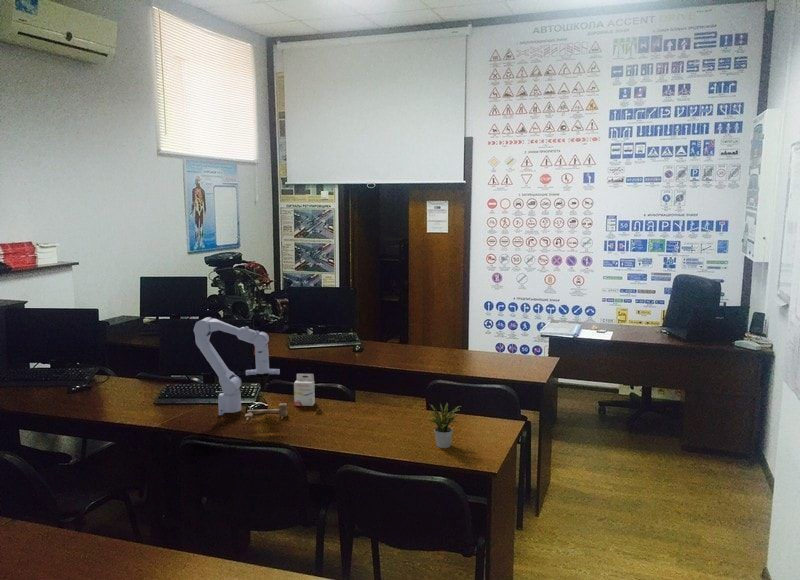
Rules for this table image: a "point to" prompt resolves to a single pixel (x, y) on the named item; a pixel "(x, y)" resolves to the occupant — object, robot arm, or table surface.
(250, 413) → the beam and fixed leg
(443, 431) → the house plant
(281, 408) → the sliding leg
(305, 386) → the ink cartridge box
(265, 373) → the robot arm
